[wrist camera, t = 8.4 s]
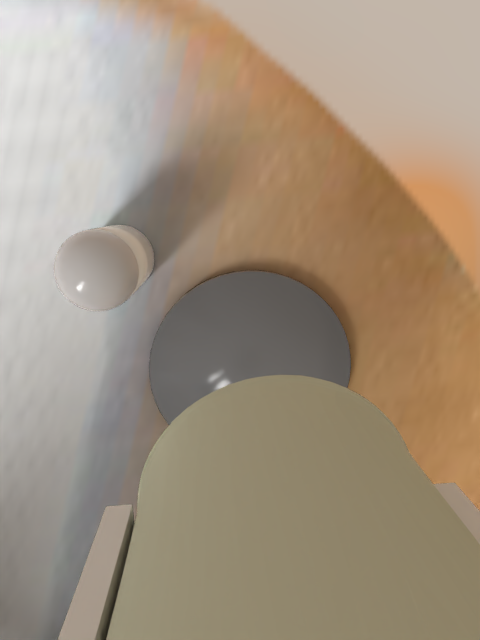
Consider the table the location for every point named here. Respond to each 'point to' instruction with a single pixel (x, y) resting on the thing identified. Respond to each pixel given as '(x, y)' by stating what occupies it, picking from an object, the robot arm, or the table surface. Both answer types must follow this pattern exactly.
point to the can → (293, 526)
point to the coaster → (244, 338)
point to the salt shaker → (103, 266)
